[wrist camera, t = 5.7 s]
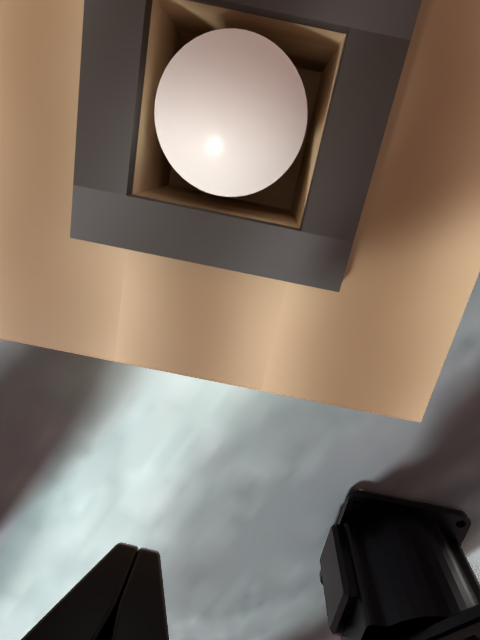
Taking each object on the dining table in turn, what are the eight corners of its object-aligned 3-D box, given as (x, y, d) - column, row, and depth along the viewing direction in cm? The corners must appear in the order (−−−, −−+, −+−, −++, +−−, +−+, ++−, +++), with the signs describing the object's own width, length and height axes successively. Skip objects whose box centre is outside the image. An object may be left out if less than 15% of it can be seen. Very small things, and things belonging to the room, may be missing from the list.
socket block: (517, -69, 15) (692, -230, 9) (378, 350, 21) (426, 432, 14) (55, -169, 15) (-95, -404, 9) (38, 282, 20) (-61, 335, 14)
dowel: (305, 83, 16) (324, 46, 11) (281, 195, 18) (287, 210, 12) (197, 61, 16) (165, 12, 11) (181, 174, 17) (145, 180, 12)
